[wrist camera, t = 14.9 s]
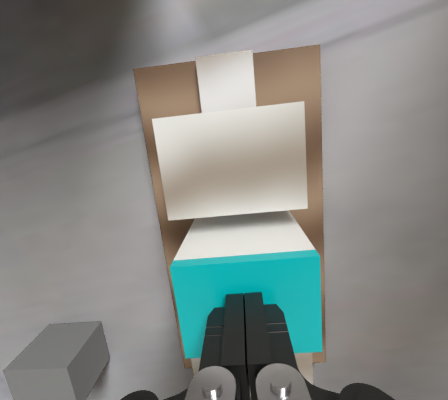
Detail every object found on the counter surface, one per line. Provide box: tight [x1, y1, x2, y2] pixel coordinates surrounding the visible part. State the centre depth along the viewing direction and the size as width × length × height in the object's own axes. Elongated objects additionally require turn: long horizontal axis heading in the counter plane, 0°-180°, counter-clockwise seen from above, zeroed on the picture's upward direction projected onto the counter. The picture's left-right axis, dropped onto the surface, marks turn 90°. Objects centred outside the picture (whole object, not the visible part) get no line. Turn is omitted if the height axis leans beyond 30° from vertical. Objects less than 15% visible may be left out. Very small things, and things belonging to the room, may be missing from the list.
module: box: [170, 210, 322, 359], centre depth 15 cm, size 4×6×8 cm
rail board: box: [133, 45, 326, 397], centre depth 17 cm, size 24×12×7 cm, turn 6°
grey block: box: [3, 321, 110, 400], centre depth 22 cm, size 4×5×5 cm
